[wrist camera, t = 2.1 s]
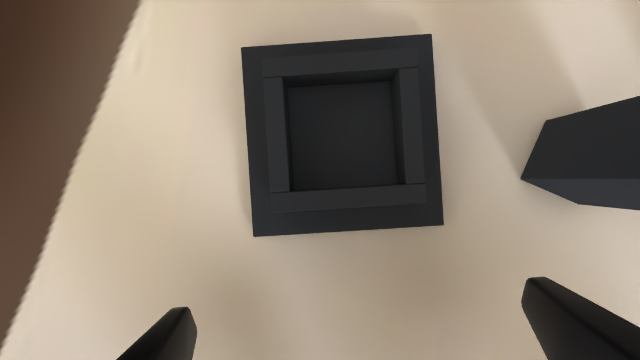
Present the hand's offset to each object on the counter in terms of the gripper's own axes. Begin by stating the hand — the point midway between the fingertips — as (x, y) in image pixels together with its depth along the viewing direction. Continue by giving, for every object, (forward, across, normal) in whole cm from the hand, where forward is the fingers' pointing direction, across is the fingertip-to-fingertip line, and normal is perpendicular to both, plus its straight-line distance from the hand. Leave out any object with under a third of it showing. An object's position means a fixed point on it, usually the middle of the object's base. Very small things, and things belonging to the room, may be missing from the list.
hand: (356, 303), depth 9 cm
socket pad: (+16, -1, 0) cm, 16 cm away
